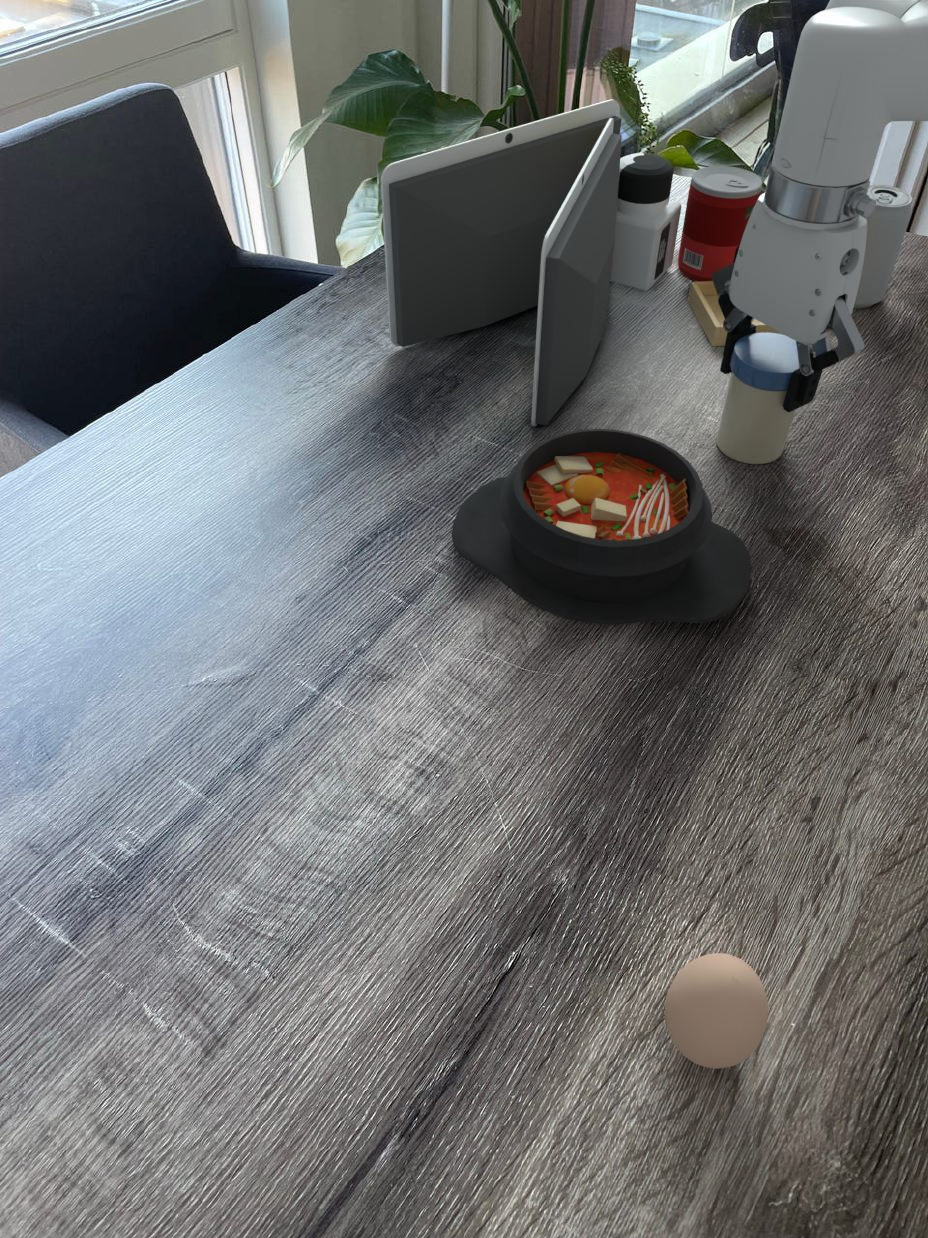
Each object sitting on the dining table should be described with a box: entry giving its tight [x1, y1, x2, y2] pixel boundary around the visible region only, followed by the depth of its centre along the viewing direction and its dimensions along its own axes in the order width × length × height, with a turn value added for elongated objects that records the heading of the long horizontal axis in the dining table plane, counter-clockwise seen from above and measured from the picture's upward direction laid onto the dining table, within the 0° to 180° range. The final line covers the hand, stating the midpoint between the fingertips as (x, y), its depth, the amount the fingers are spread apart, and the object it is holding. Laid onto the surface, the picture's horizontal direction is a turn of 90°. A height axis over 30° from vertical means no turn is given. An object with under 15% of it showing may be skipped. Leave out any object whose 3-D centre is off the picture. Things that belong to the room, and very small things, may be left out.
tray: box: [687, 281, 832, 347], centre depth 112 cm, size 13×10×2 cm
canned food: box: [677, 165, 763, 282], centre depth 117 cm, size 8×8×11 cm
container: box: [610, 152, 683, 292], centre depth 115 cm, size 8×8×13 cm
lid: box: [730, 332, 799, 391], centre depth 90 cm, size 7×7×2 cm
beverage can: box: [853, 184, 913, 309], centre depth 112 cm, size 6×6×12 cm
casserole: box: [451, 428, 753, 626], centre depth 81 cm, size 25×19×8 cm
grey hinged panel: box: [380, 98, 623, 427], centre depth 103 cm, size 35×22×20 cm, turn 165°
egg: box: [664, 952, 769, 1070], centre depth 53 cm, size 5×5×8 cm
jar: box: [715, 371, 796, 465], centre depth 93 cm, size 6×6×10 cm
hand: (764, 385), depth 91 cm, fingers closed on lid, 6 cm apart
